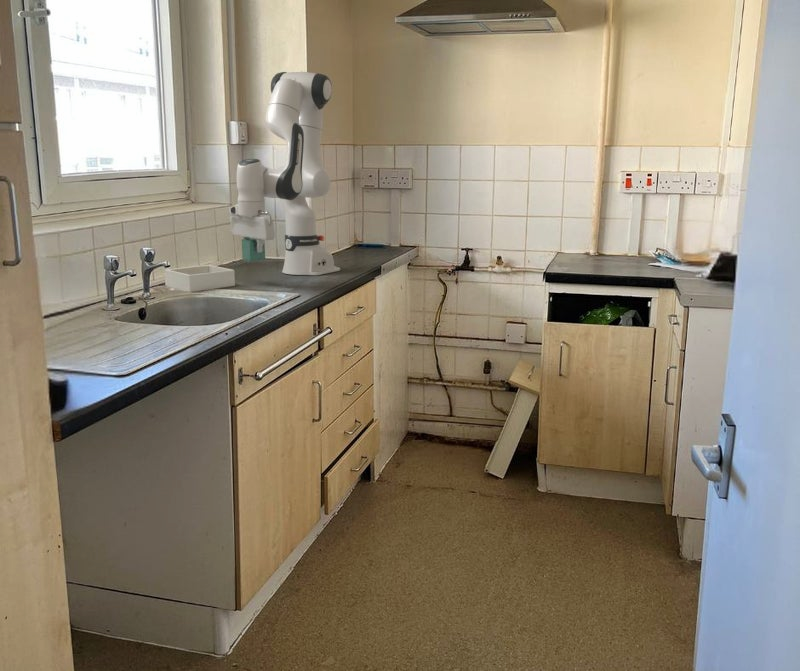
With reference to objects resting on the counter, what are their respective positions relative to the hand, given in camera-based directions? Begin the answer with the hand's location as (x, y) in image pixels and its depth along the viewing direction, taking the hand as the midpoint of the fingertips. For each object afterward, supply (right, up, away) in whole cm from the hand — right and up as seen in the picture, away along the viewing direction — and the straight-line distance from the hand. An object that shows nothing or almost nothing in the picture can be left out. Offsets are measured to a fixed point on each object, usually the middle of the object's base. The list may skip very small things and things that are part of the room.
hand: (253, 251), depth 265 cm
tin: (0, -3, +1) cm, 3 cm away
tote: (-17, -12, -2) cm, 21 cm away
